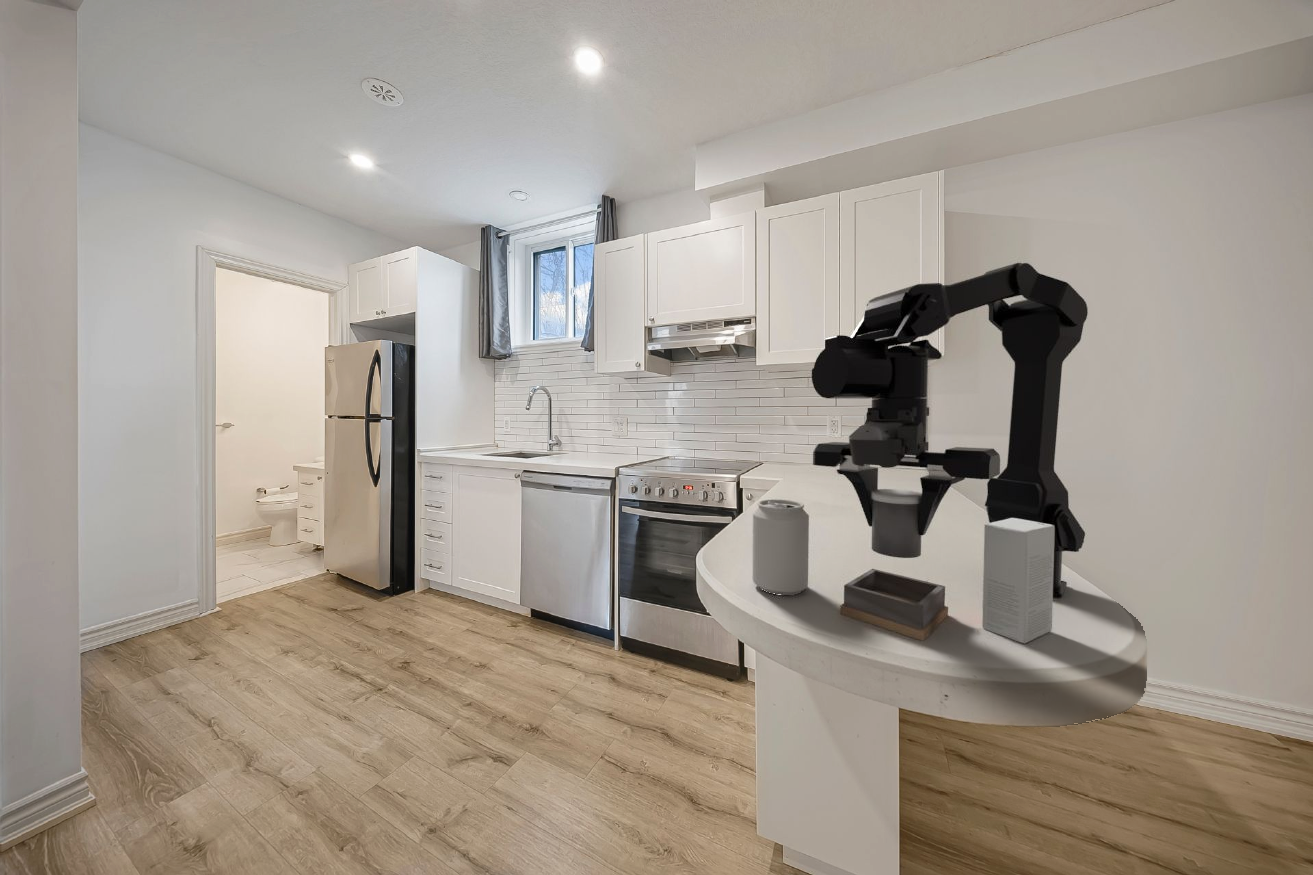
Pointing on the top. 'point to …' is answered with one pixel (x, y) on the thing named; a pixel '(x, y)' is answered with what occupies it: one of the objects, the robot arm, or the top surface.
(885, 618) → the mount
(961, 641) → the top surface
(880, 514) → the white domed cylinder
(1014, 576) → the skincare box
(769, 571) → the can
